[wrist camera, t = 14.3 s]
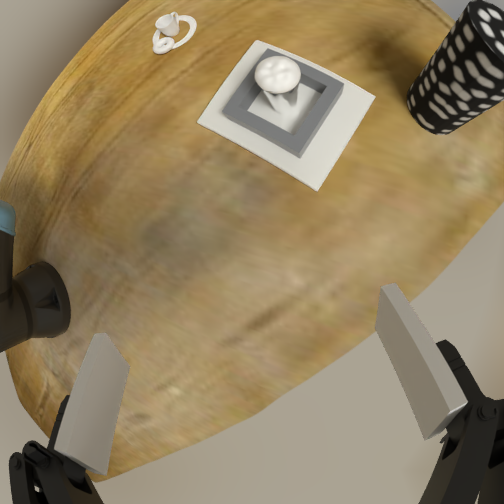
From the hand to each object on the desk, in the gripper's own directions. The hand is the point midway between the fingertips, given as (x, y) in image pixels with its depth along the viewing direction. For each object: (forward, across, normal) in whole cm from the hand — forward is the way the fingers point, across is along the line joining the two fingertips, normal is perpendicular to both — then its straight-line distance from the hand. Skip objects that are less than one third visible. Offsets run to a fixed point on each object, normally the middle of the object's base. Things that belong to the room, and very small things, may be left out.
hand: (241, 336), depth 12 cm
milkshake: (+28, +8, +8) cm, 30 cm away
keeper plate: (+29, +8, +7) cm, 31 cm away
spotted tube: (+24, +28, +7) cm, 38 cm away
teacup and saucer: (+41, -8, +24) cm, 48 cm away
